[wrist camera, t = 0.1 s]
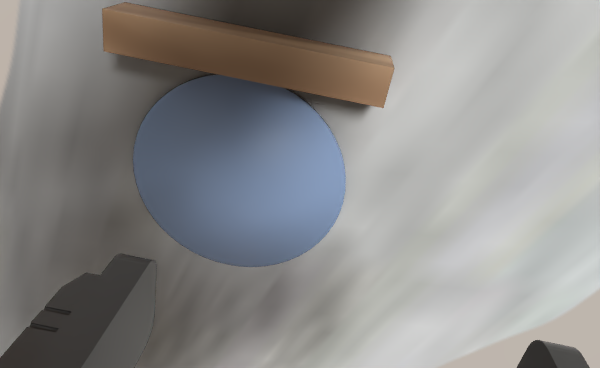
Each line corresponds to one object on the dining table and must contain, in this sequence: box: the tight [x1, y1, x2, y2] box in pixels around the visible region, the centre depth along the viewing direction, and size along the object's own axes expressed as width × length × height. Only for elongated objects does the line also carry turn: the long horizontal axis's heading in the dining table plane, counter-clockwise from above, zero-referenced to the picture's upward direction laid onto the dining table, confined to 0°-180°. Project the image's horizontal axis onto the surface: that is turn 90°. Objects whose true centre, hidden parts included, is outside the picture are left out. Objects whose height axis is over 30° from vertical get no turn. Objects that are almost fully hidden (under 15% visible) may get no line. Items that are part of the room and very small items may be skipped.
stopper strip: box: [102, 2, 394, 108], centre depth 23 cm, size 2×14×2 cm, turn 80°
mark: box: [133, 74, 346, 267], centre depth 28 cm, size 13×13×1 cm
